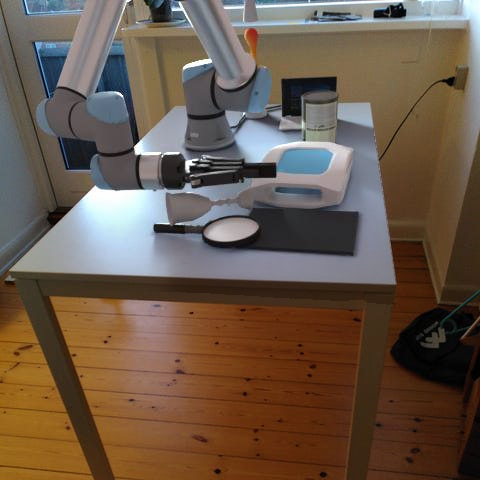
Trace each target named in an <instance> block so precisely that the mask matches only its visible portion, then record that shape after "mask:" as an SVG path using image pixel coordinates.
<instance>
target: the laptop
mask: <svg viewBox="0 0 480 480" xmlns="http://www.w3.org/2000/svg"><path fill="white" fill-rule="evenodd" d="M337 88H338V76H337V75H329V76H328V75H327V76H304V77H303V76H301V77H281V78H280V98H281V99H280V105H281V107H280V108H281V119H280V122H279V126H278V130H279V131H302V99H301V96H302V95H303V94H304V93H307V92H311V91H319V90H327V91H334V92H337V90H338V89H337ZM337 93H338V92H337Z"/></svg>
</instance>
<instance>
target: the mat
mask: <svg viewBox="0 0 480 480" xmlns="http://www.w3.org/2000/svg"><path fill="white" fill-rule="evenodd" d="M359 214H360V212H359V211H356V210H355V211H354V210H329V209H303V208H284V207H257V206H253V208H252V210H250V212H249V214H248V216H250V217H253V218H255V219H257V220H258V221H259V222H260V226H261V234H260V236H259V237H258V238H257V239H256V240H255V241H253V242H252V243H250V244H247V245H245V246H242V247H237V248H234V249H236V250H238V249H239V250H250V251H251V250H253V251H255V250H256V251H267V252H268V251H269V252H270V251H271V252H287V253H303V254H304V253H305V254H320V255H321V254H322V255H337V256H338V255H339V256H353V257H354V253H355V247H356V239H357V230H358V222H359V217H360V216H359Z"/></svg>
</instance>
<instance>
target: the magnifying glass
mask: <svg viewBox="0 0 480 480" xmlns="http://www.w3.org/2000/svg"><path fill="white" fill-rule="evenodd" d="M152 228H153V233H155V234H170V235H171V234H173V235H174V234H175V235H186V234H189V235H192V234H194V235H196V234H197V235H201V240H202V241H203V243H204V244H206V245H207V246H209V247H211V248H216V249H221V250H228V249H235V248H237V247H242V246H245V245H247V244H250V243H252V242H253V241H255V240H256V239H257V238H258V237H259V236H260V234H261V226H260V222H259V221H258V220H257V219H255V218H253V217H250V216H249V215H245V214H228V215H223V216H220V217H215V218H214V219H209V220H208V221H206V222H205V223H204V225H203V224H201V225H200V224H197V225H195V224H194V225H193V224H186V223H176V224H174V225H173V226H171V225H170V223H169V222H154V224H153V226H152Z"/></svg>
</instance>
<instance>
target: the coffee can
mask: <svg viewBox="0 0 480 480" xmlns="http://www.w3.org/2000/svg"><path fill="white" fill-rule="evenodd" d="M339 98H340V94H339V92H334V91H327V90H319V91H311V92H307V93H304V94H303V95H302V96H301V99H302V130H301V142H331V143H335V144H337V138H338V137H337V134H338V131H337V130H338V113H339V111H338V109H339Z"/></svg>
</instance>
